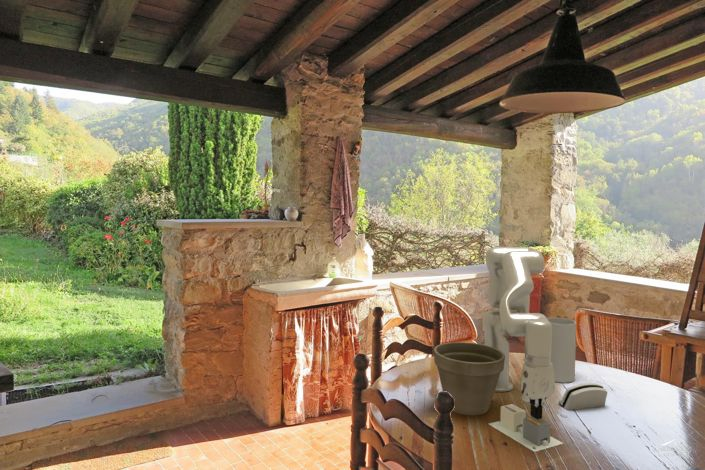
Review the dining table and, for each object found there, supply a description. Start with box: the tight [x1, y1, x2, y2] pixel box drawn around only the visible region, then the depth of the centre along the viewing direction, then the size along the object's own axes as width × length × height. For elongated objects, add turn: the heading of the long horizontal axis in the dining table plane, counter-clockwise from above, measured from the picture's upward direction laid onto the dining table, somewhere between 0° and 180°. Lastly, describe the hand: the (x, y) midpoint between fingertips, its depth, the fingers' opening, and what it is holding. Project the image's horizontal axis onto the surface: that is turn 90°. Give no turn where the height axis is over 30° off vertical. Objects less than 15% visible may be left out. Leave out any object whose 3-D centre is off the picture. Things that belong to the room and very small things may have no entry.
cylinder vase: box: [546, 317, 577, 384], centre depth 201 cm, size 12×12×25 cm
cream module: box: [499, 403, 527, 432], centre depth 154 cm, size 6×5×6 cm
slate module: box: [523, 416, 551, 446], centre depth 145 cm, size 6×5×6 cm
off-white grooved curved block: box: [558, 382, 608, 411], centre depth 172 cm, size 17×5×10 cm, turn 103°
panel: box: [488, 420, 564, 453], centre depth 149 cm, size 20×12×2 cm, turn 25°
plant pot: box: [433, 341, 505, 416], centre depth 169 cm, size 25×25×22 cm
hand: (536, 417), depth 145 cm, fingers closed
